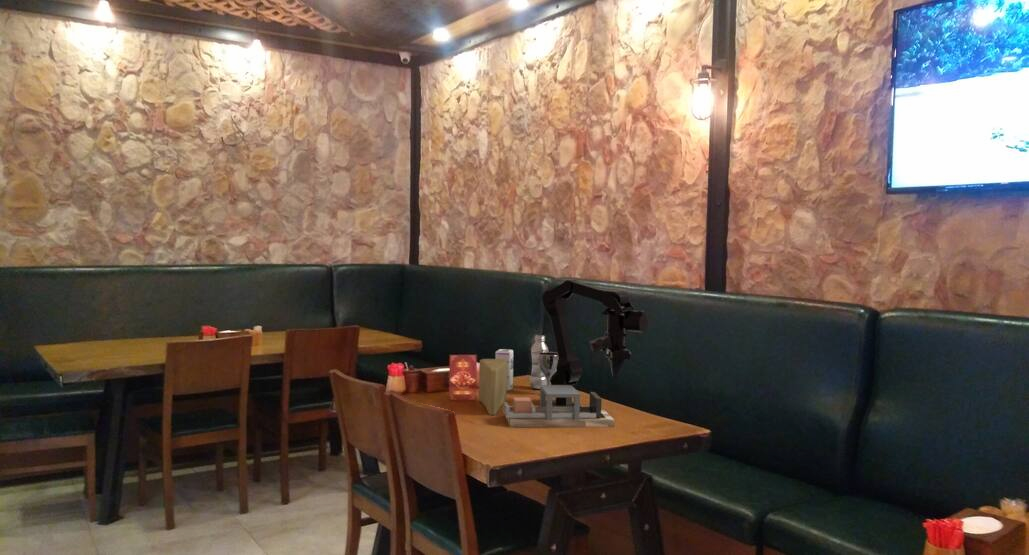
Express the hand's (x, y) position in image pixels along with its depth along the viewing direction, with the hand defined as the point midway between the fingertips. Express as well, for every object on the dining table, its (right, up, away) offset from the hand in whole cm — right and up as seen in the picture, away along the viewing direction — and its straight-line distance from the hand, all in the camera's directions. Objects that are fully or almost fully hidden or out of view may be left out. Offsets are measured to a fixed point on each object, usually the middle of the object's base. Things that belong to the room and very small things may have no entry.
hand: (614, 376), depth 260 cm
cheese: (-40, -11, +4) cm, 42 cm away
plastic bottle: (-24, -9, +37) cm, 45 cm away
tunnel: (-19, -10, -13) cm, 25 cm away
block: (-30, -10, -14) cm, 35 cm away
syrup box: (-37, -9, +36) cm, 52 cm away
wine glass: (-21, -10, +27) cm, 36 cm away
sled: (-21, -10, -13) cm, 27 cm away
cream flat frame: (-19, -12, -13) cm, 26 cm away
